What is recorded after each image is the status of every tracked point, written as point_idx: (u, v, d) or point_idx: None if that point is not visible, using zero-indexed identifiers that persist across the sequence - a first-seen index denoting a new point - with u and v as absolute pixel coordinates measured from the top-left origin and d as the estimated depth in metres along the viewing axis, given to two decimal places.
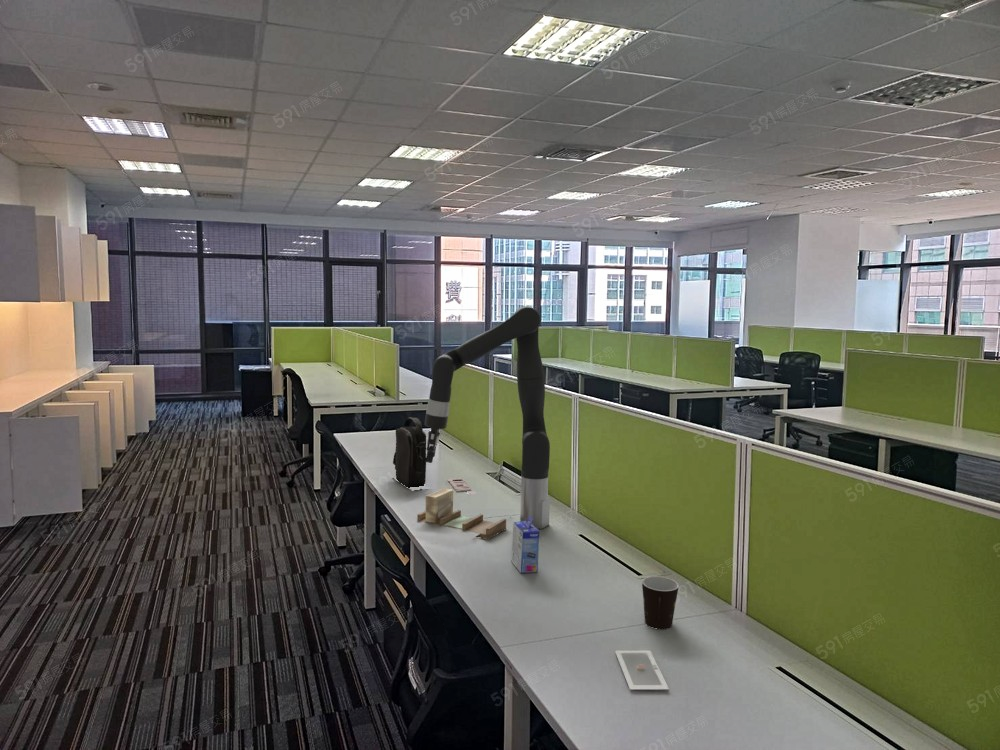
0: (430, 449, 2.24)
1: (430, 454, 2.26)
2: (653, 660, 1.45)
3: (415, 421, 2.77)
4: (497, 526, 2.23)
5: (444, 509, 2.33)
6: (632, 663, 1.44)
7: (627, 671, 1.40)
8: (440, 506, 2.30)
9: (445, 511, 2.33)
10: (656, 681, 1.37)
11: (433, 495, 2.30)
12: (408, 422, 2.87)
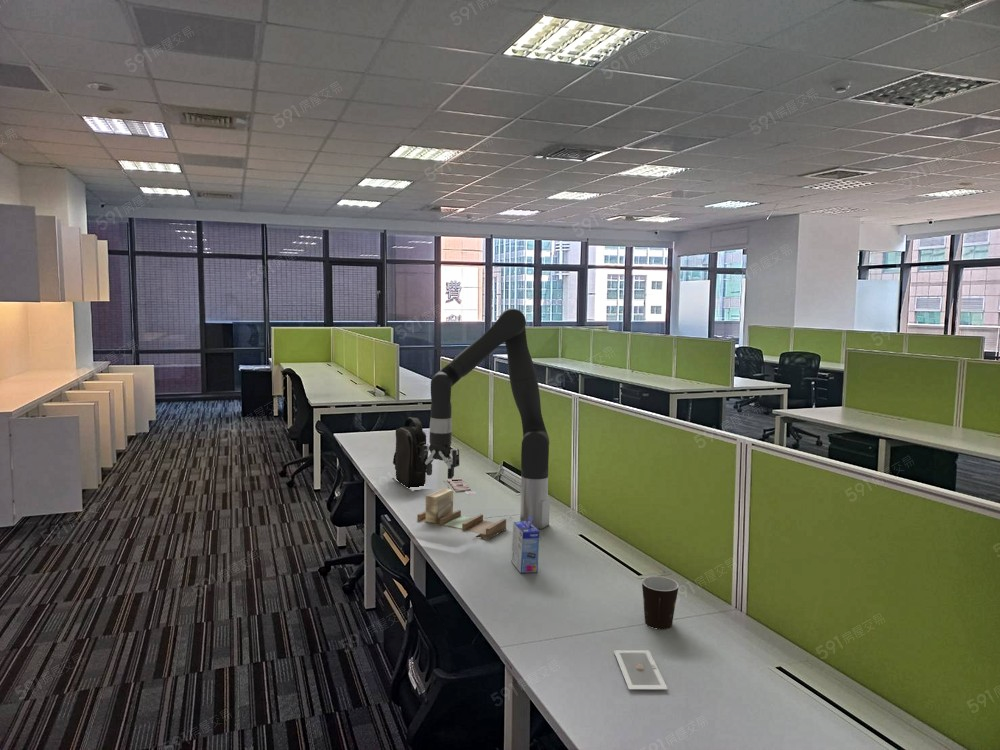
0: (457, 465, 2.29)
1: (452, 470, 2.30)
2: (651, 660, 1.45)
3: (415, 421, 2.77)
4: (497, 526, 2.23)
5: (444, 509, 2.33)
6: (631, 662, 1.44)
7: (626, 671, 1.40)
8: (440, 506, 2.30)
9: (445, 511, 2.33)
10: (655, 681, 1.37)
11: (433, 495, 2.30)
12: (408, 422, 2.87)
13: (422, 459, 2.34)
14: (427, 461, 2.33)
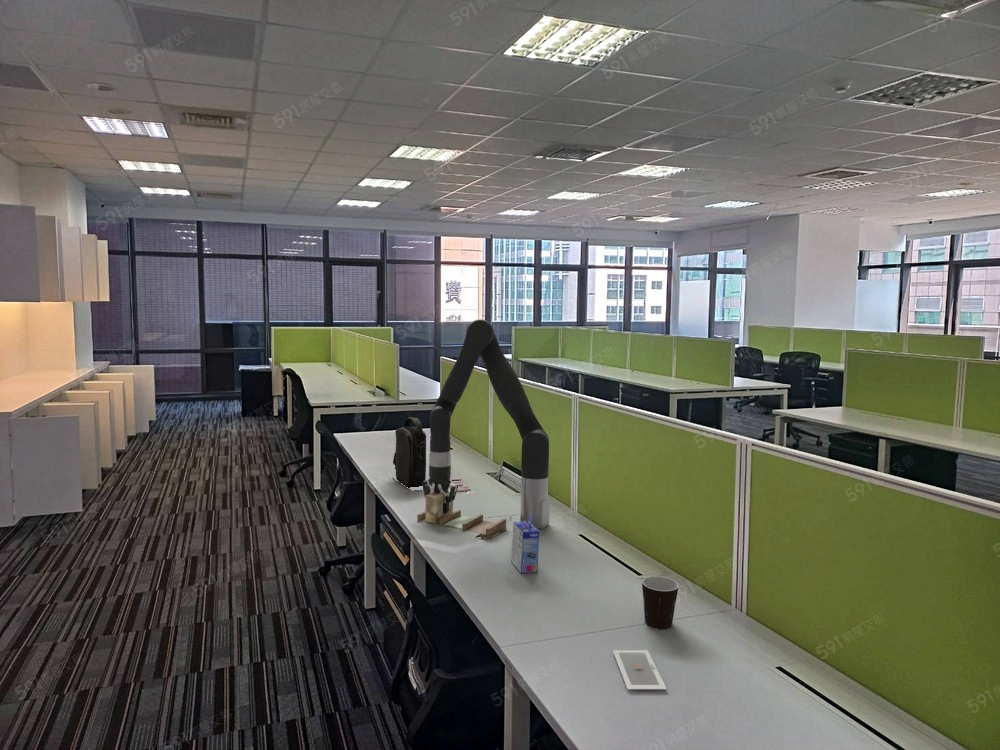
0: (452, 499, 2.31)
1: (448, 504, 2.32)
2: (650, 660, 1.45)
3: (415, 421, 2.77)
4: (497, 526, 2.23)
5: None
6: (630, 662, 1.44)
7: (625, 671, 1.40)
8: (440, 506, 2.30)
9: None
10: (654, 681, 1.37)
11: (434, 495, 2.30)
12: (408, 422, 2.87)
13: None
14: None
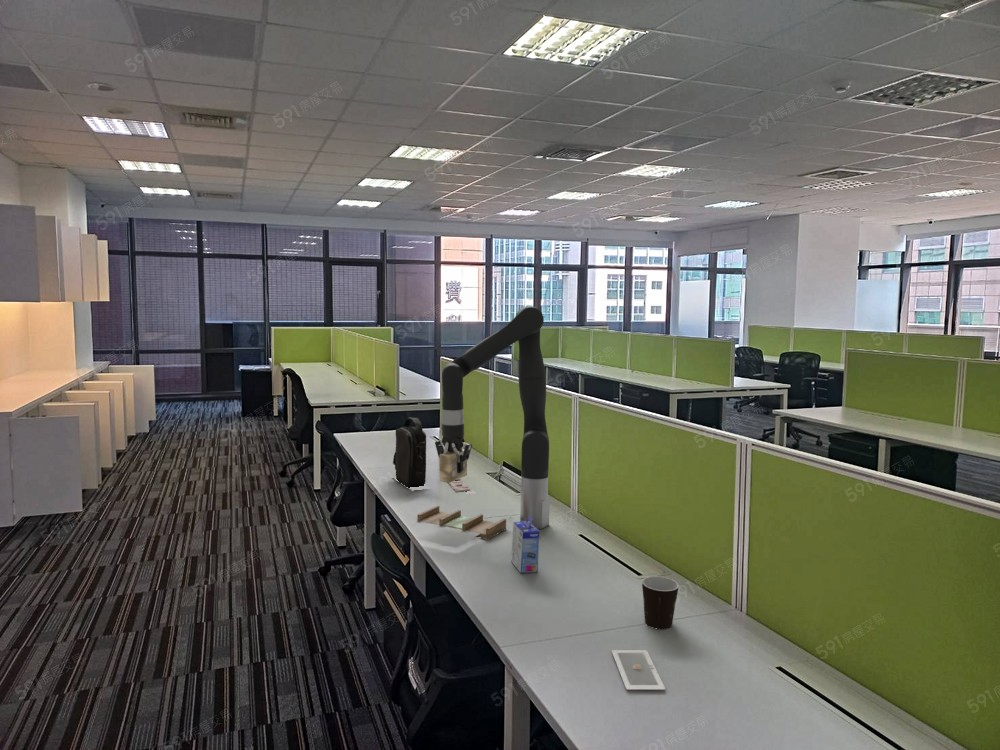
0: (466, 458, 2.27)
1: (462, 464, 2.28)
2: (649, 660, 1.45)
3: (415, 421, 2.77)
4: (497, 526, 2.23)
5: None
6: (629, 663, 1.44)
7: (624, 671, 1.40)
8: (454, 465, 2.27)
9: None
10: (653, 681, 1.37)
11: (447, 454, 2.26)
12: (408, 422, 2.87)
13: None
14: None
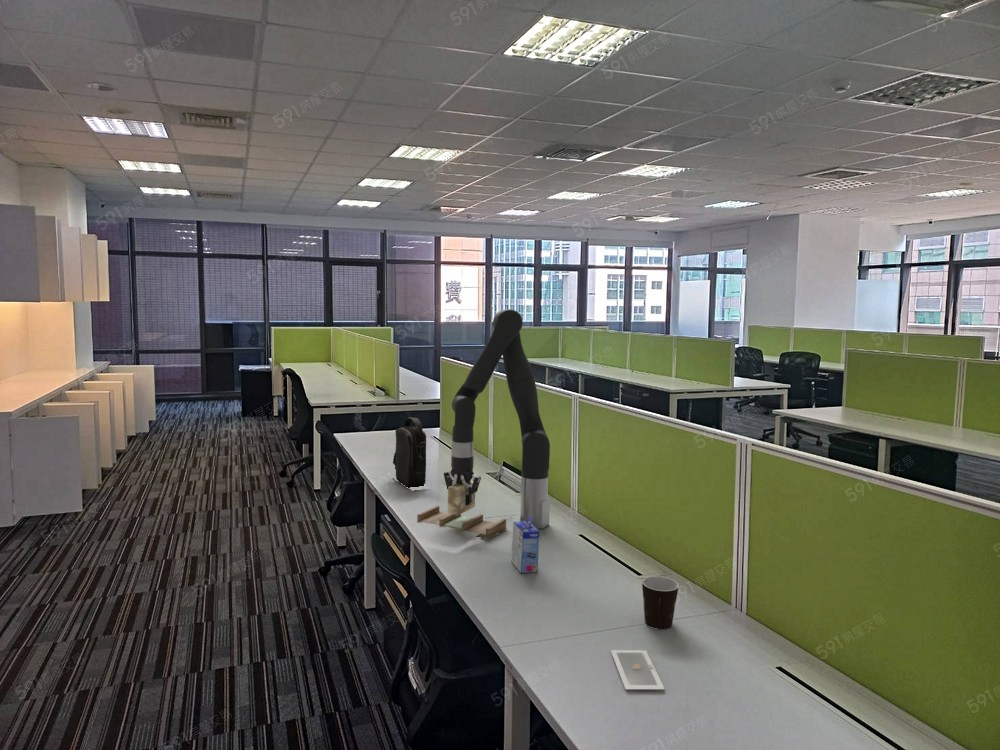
0: (475, 491, 2.26)
1: (470, 496, 2.28)
2: (648, 660, 1.45)
3: (415, 421, 2.77)
4: (497, 526, 2.23)
5: None
6: (628, 662, 1.44)
7: (623, 671, 1.40)
8: (463, 498, 2.26)
9: None
10: (652, 681, 1.37)
11: (456, 487, 2.25)
12: (408, 422, 2.87)
13: None
14: None
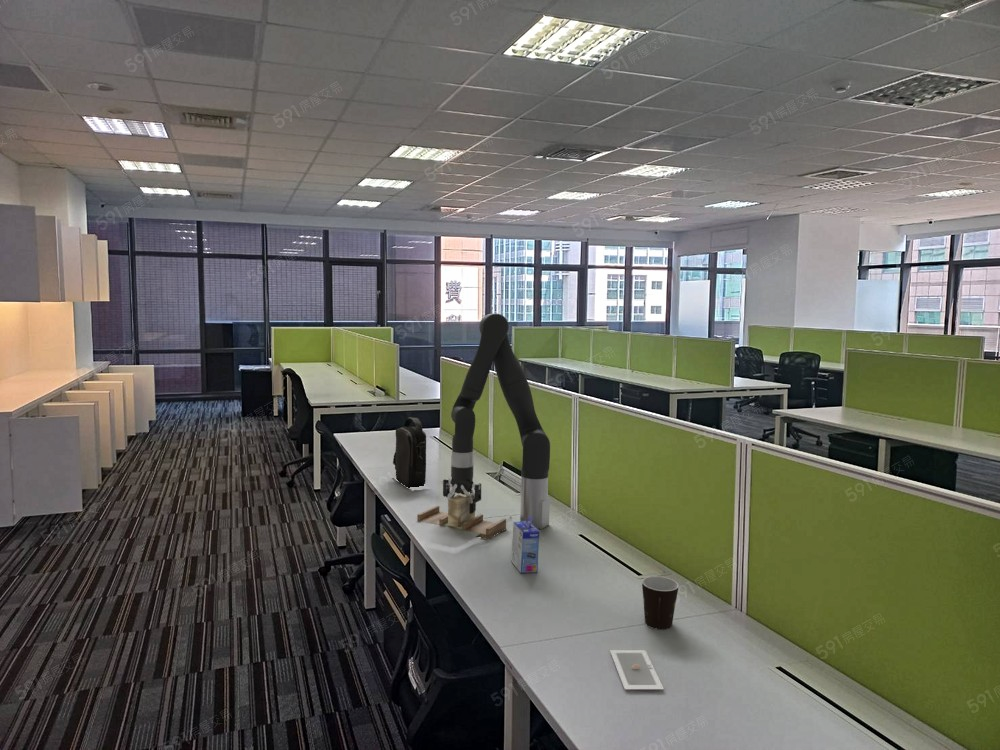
0: (479, 499, 2.26)
1: (474, 504, 2.27)
2: (647, 660, 1.45)
3: (415, 421, 2.77)
4: (497, 526, 2.23)
5: (466, 513, 2.28)
6: (627, 662, 1.44)
7: (622, 671, 1.40)
8: (463, 510, 2.26)
9: (467, 515, 2.29)
10: (651, 681, 1.37)
11: (456, 499, 2.25)
12: (408, 422, 2.87)
13: (444, 494, 2.31)
14: (449, 496, 2.30)
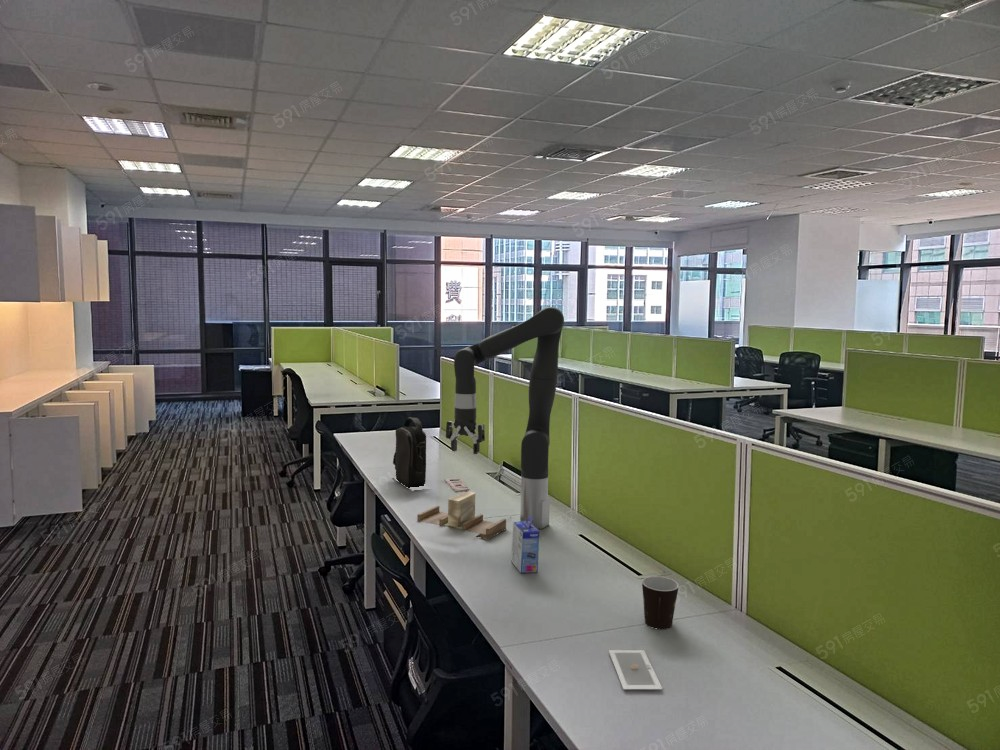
0: (483, 440, 2.31)
1: (478, 445, 2.32)
2: (646, 660, 1.45)
3: (415, 421, 2.77)
4: (497, 526, 2.23)
5: (466, 513, 2.28)
6: (626, 662, 1.44)
7: (621, 671, 1.40)
8: (463, 510, 2.26)
9: (467, 515, 2.29)
10: (650, 681, 1.37)
11: (456, 499, 2.25)
12: (408, 422, 2.87)
13: (447, 436, 2.36)
14: (452, 437, 2.35)
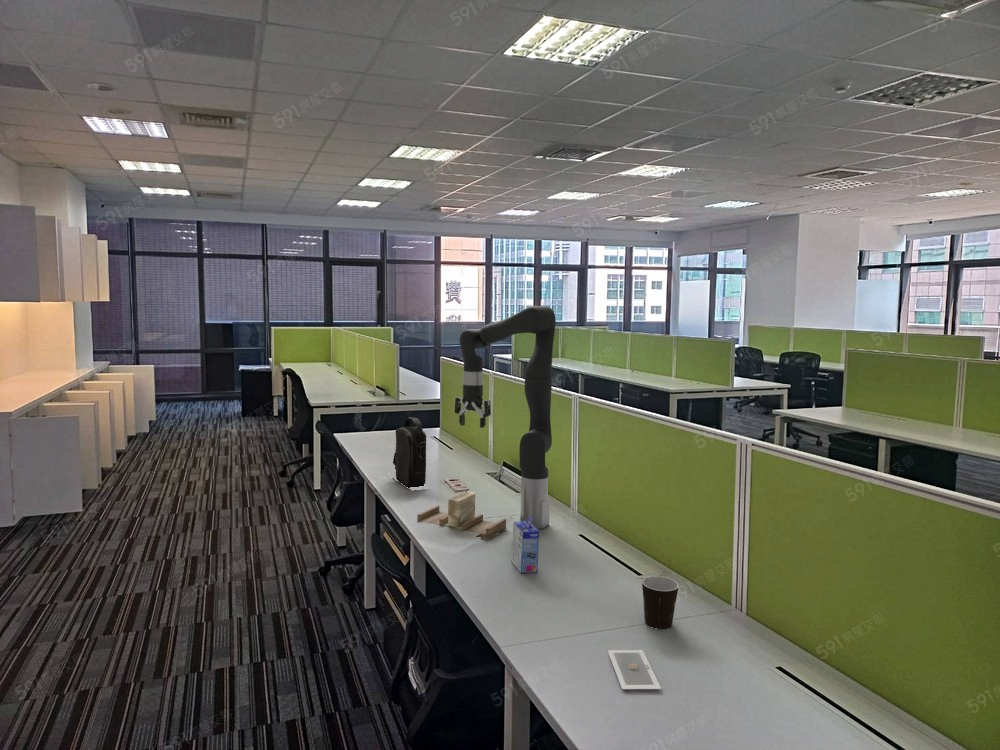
0: (489, 414, 2.48)
1: (484, 419, 2.49)
2: (645, 660, 1.45)
3: (415, 421, 2.77)
4: (497, 526, 2.23)
5: (466, 513, 2.28)
6: (625, 662, 1.44)
7: (619, 671, 1.41)
8: (463, 510, 2.26)
9: (467, 515, 2.29)
10: (649, 681, 1.37)
11: (456, 499, 2.25)
12: (408, 422, 2.87)
13: (455, 411, 2.53)
14: (460, 412, 2.52)
